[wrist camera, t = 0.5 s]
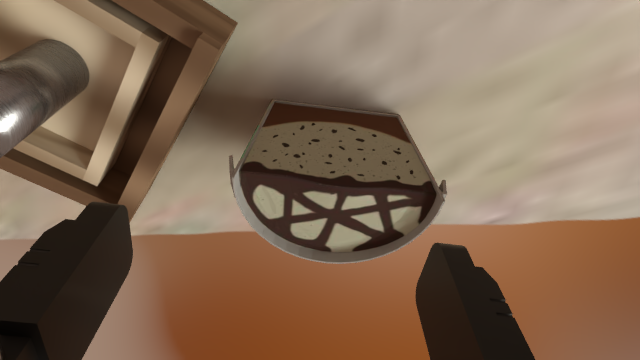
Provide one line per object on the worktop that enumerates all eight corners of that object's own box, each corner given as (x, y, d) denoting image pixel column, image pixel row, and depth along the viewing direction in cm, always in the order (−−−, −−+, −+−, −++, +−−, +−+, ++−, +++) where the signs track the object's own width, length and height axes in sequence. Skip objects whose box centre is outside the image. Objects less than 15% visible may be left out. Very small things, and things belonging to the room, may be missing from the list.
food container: (249, 167, 32) (222, 259, 24) (251, 96, 29) (221, 176, 21) (399, 184, 33) (423, 279, 25) (419, 117, 30) (454, 202, 22)
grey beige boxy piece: (0, -80, 22) (-165, -65, 14) (175, 28, 25) (112, 84, 18) (-30, 93, 28) (-158, 166, 20) (115, 163, 31) (49, 247, 23)
